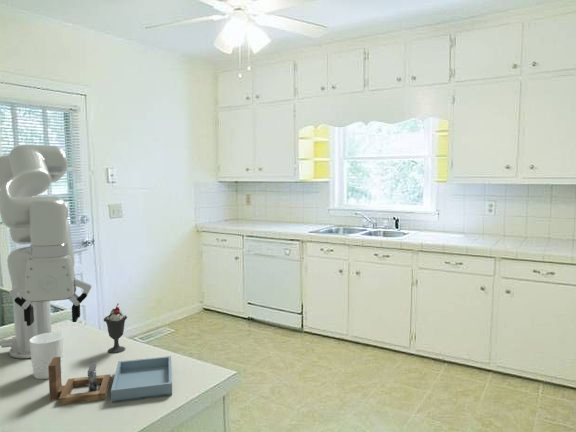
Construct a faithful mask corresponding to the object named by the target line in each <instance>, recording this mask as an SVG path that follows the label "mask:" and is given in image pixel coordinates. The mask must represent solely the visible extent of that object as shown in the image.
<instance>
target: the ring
mask: <svg viewBox="0 0 576 432" xmlns="http://www.w3.org/2000/svg"><path fill="white" fill-rule="evenodd" d="M48 369H49V378H48V385H49V389H48V390H49V401H57V400H58V405H59V406H60V405H69V404H74V403H76V404H77V403H83V402H91V401H100V400H106V398H107V395H108V391H109V387H110V383H111V374H102V375H96V381H97V385H100V386H99V390H97V391H93V392H89V391H85V392H77V393H72V391H73V389H74V387H81V386H89V381H88V376H83V377H81V376H80V377H74V378H73V377H72V378H68V379H67V381H66V383H65V385H62V373H61V360H60V357H54V358H53V359H52V361H51V363H50V364H49V366H48Z"/></svg>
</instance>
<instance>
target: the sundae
mask: <svg viewBox="0 0 576 432" xmlns="http://www.w3.org/2000/svg"><path fill="white" fill-rule="evenodd" d="M119 304H120V303H117V304H116V306H115V308H112V310H111V311H110V313H109V315H107V316H105V317H104V318H103V321H104V322H105V323H106V326H107V332H108V336H109V337H110V338H111V339H112V340H113V342H114V344H113V346H112V347H110V348H109V349H108V350H107V352H108V353H110V354H119V352H120V353H121V352H124V351H125V350H126V347H125V346H121V345H120V344H119V339H120V338H121V337H122V336H123V335H124V330H125V323H126V320H127V318H128V316H127V315H126V314H124V313H123V311H122V310H121V308H120V307H119Z"/></svg>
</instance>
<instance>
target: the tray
mask: <svg viewBox="0 0 576 432" xmlns="http://www.w3.org/2000/svg"><path fill="white" fill-rule="evenodd" d="M172 374H173V373H172V355H169V356H159V357H158V356H157V357H148V358H138V359H137V358H136V359H128V360H121V361H117V366H116V370H115V373H114V378H113V381H112V384H111V385H112V386H111V389H110V397H111V398H110V399H111V400H110V402H111V403H119V402H127V401H128V402H129V401H136V400H145V399H152V398H161V397H167V396H168V397H169V396H173V377H172Z"/></svg>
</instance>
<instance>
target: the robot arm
mask: <svg viewBox="0 0 576 432" xmlns="http://www.w3.org/2000/svg"><path fill="white" fill-rule="evenodd" d="M68 167H69V165H68V157H67V155H66V152H65V151H64V149H63V148H61V147H60V146H56V145H41V144H21V145H17V146H15V147H14V148H12V149H11V150H10V152H9V154H5V155H1V156H0V217H1V221H2V223H3V225H5V226H6V227H7V228H9V233H10V237H11V240H12V242H13V243H15V244H18V245H30V246H26V247H25V246H24V247H21V248H16V249H13V250H12V251H11V252H10V253H9V254H8V256H7V269H8V270H7V271H8V274H9V277H10V283H11V290H10V291H9V295H10V296H11V298H12V302H13V303H12V304H13V306H12V307H13V321H14V322H13V323H14V324H13V325H14V337H13V336H12V338H0V347H1V348H9V349H10V350H9V356H10V357H12V358H14V359H15V358H16V359H31V351H30V342H29V340H30V339H31V338H32V337H34V336H37V335H40V334H44V333H52V315H51V314H52V313H51V312H52V311H51V302H53V301H54V302H56V301H66V300H67V301H68V300H69V302H71V303H72V305H71V321H72V323H77V321H78V319H79V318H80V317H81V303H82V302H83V301H84V300H85V299H86V298H87V297H88V295H89V293H90V291H91V289H92V285H91V284H90V283H87V282H85V281H82V280H79V279H77V278H76V273H75V254H74V249H73V241H72V235H71V234H72V233H71V227H70V223H69V219H68V217H69V207H68V204H67V203H66V202H65V201H64V199H63V198H61V197H58V196H38V195H40V194H43V193H44V192H46V191H47V190H48V189H49V188H50V186H51V183H55V182H58V181H59V180H61V178H62V177H64V175H65V174H66V173H67V170H68ZM77 288H80V289H82V290H83V291H82V293H81V294H80V295H78V294H77V293H76V291H77Z"/></svg>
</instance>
